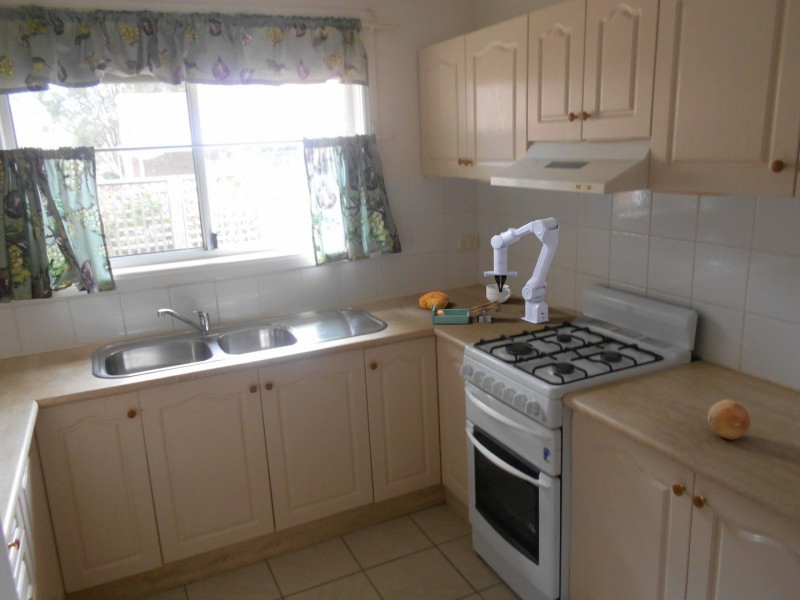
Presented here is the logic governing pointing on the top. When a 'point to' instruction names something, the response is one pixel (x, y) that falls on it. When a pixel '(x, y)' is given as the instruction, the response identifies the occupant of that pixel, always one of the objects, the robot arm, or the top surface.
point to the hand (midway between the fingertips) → (500, 291)
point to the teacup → (497, 293)
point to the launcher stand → (484, 318)
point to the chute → (486, 308)
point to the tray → (451, 316)
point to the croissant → (434, 300)
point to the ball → (440, 313)
